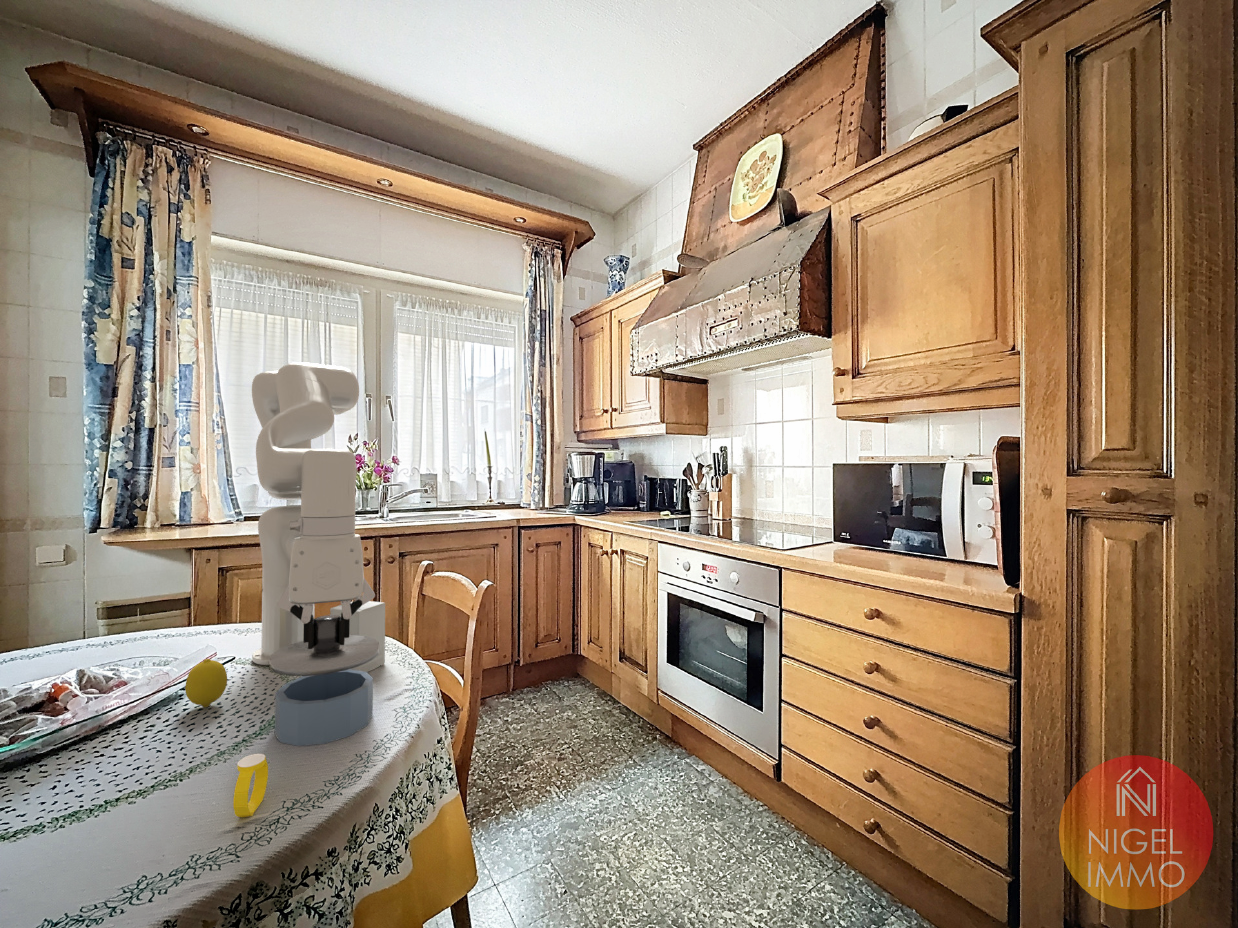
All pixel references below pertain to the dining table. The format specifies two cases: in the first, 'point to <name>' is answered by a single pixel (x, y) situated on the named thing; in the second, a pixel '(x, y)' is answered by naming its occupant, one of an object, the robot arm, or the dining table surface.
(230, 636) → the dining table surface
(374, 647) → the lid
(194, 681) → the lemon
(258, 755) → the watch
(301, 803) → the dining table surface
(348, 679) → the bowl
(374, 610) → the supplement box
